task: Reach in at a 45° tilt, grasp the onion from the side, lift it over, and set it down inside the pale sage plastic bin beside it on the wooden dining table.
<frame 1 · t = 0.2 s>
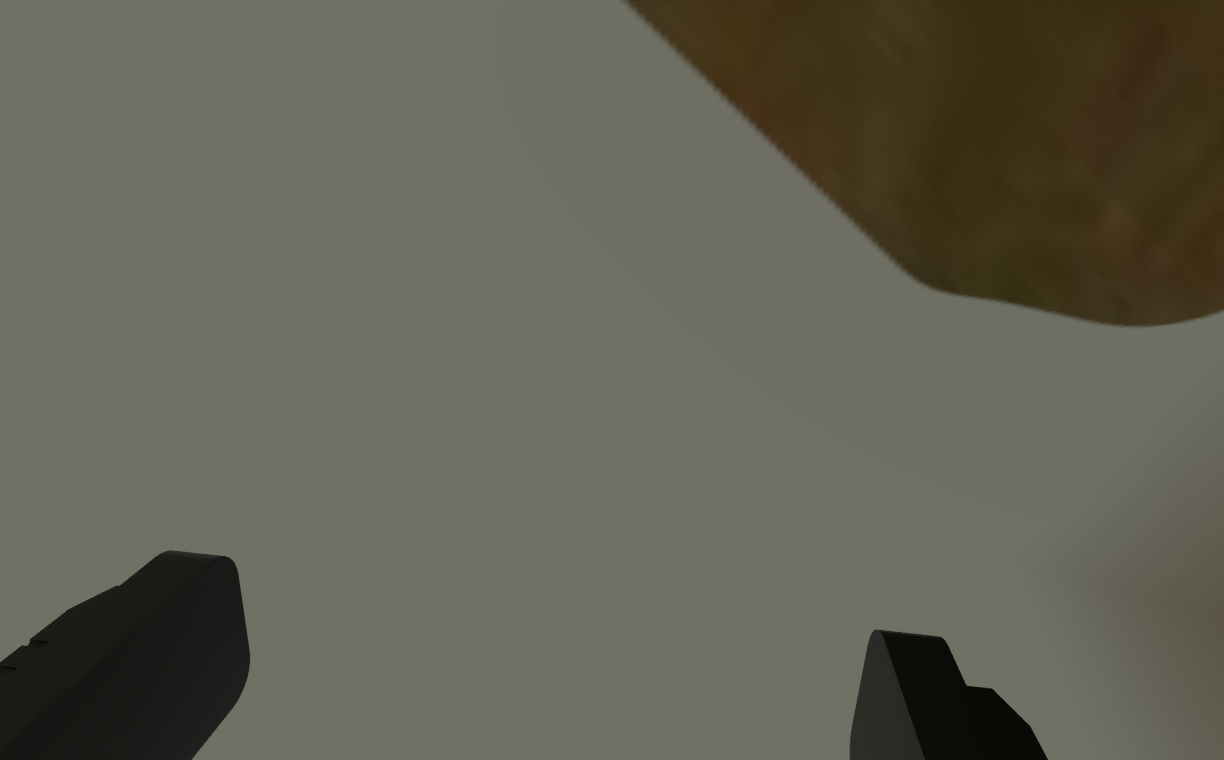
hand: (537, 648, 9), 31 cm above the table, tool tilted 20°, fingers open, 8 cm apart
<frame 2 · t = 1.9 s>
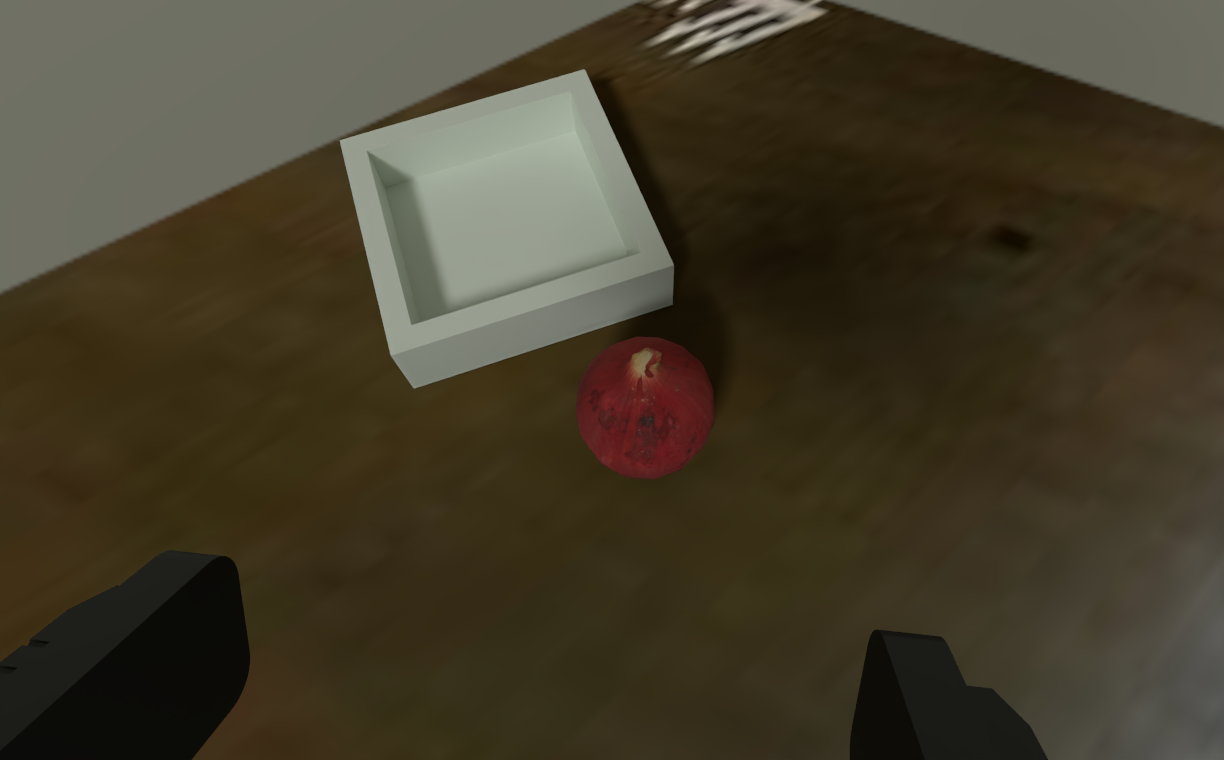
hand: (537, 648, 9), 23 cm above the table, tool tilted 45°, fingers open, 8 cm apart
bin: (509, 241, 40), on the table
onion: (646, 440, 35), on the table
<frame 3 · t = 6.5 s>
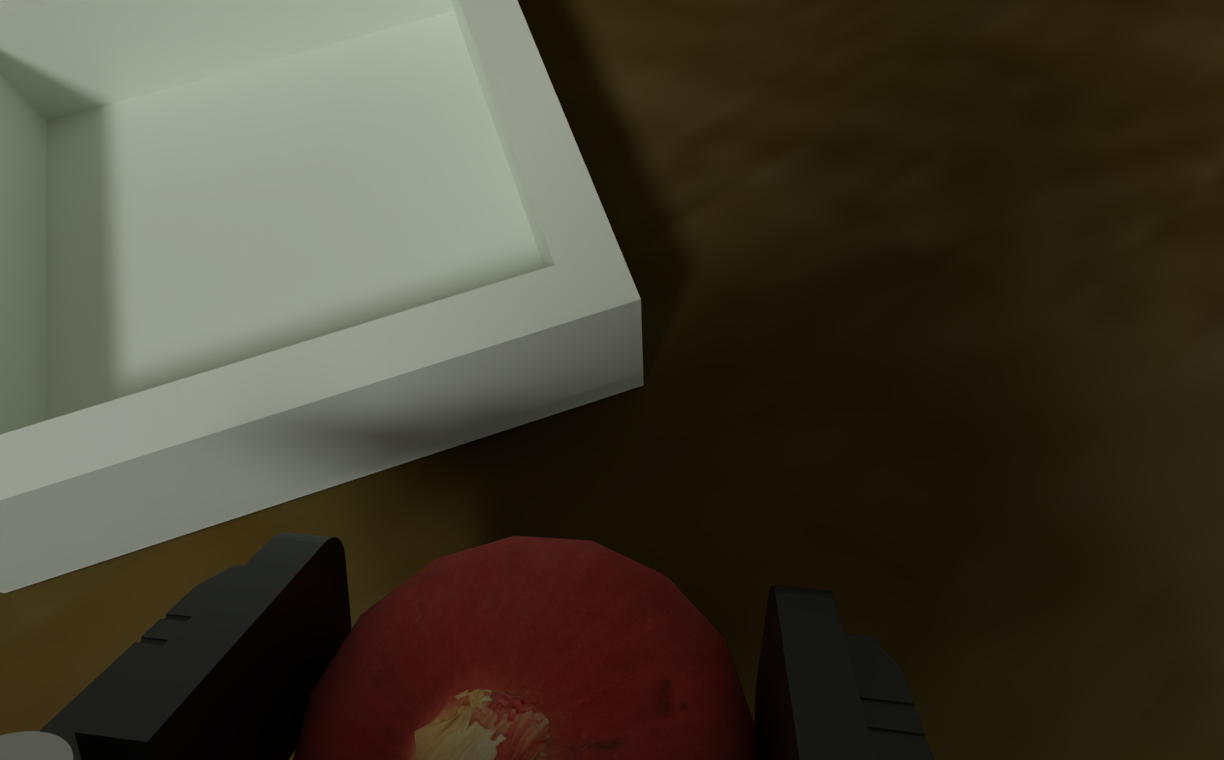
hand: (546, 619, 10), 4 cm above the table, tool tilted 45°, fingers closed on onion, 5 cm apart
bin: (293, 235, 18), on the table
onion: (565, 758, 13), on the table, touching gripper
when the fingers open (7 cm above the table, at t = 11.8 s): onion drops 2 cm, resting on bin.
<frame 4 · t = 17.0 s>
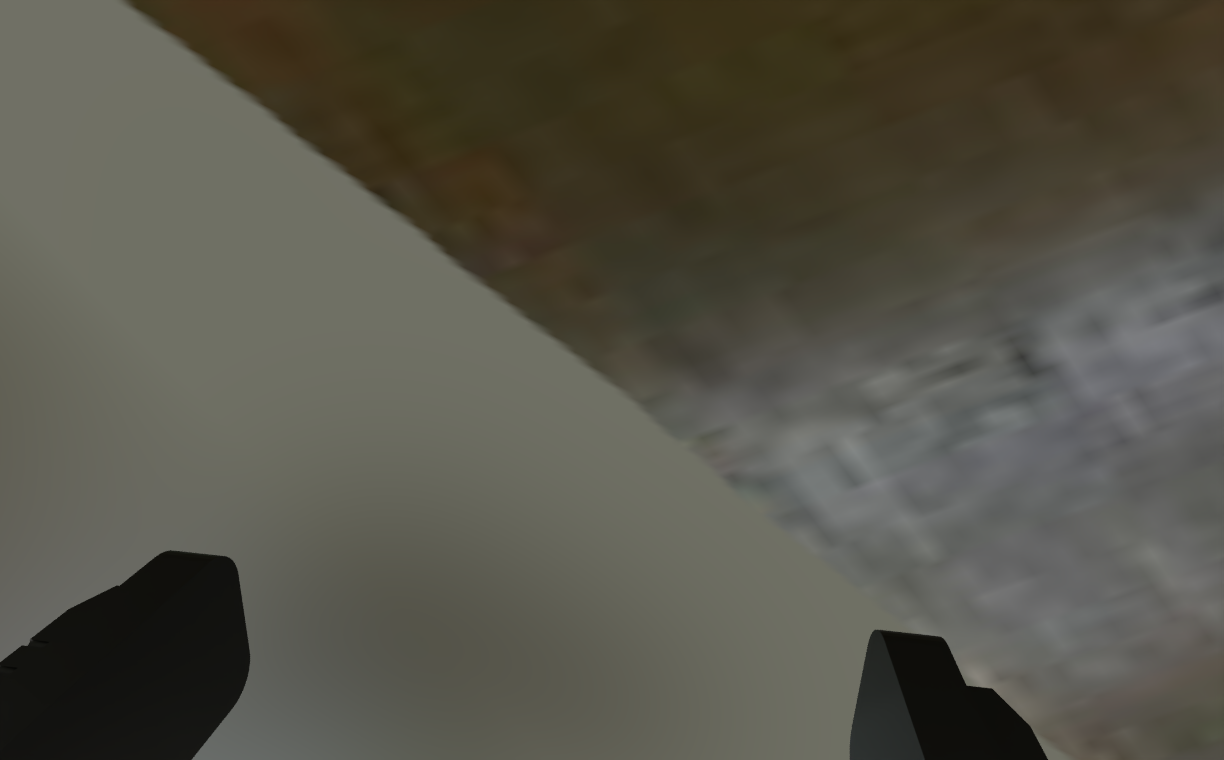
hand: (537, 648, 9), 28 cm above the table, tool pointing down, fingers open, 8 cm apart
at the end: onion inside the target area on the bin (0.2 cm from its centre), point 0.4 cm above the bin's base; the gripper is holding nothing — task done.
